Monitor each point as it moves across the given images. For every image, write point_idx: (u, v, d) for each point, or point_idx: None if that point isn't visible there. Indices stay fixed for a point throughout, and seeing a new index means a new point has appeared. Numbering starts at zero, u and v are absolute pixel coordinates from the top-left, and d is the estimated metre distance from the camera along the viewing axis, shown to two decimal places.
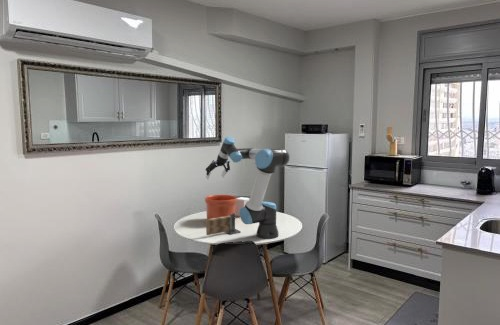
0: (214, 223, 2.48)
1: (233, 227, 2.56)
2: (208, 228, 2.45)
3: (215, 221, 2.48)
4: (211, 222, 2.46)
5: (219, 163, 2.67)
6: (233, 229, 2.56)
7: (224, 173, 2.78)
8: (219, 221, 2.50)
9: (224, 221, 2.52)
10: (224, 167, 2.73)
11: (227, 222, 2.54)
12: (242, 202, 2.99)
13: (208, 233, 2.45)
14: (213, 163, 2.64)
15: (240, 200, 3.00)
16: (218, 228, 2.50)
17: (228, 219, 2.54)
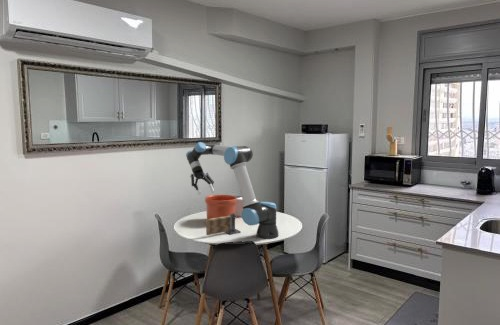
0: (214, 223, 2.48)
1: (233, 227, 2.56)
2: (208, 228, 2.45)
3: (215, 221, 2.48)
4: (211, 222, 2.46)
5: (197, 174, 2.68)
6: (233, 229, 2.56)
7: (211, 185, 2.66)
8: (219, 221, 2.50)
9: (224, 221, 2.52)
10: (206, 178, 2.69)
11: (227, 222, 2.54)
12: (242, 202, 2.99)
13: (208, 233, 2.45)
14: (191, 175, 2.65)
15: (240, 200, 3.00)
16: (218, 228, 2.50)
17: (228, 219, 2.54)
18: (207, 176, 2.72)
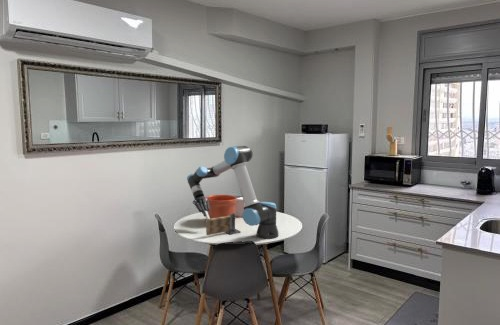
0: (214, 223, 2.48)
1: (233, 227, 2.56)
2: (208, 228, 2.45)
3: (215, 221, 2.48)
4: (211, 222, 2.46)
5: (198, 199, 2.65)
6: (233, 229, 2.56)
7: (206, 213, 2.59)
8: (219, 221, 2.50)
9: (224, 221, 2.52)
10: (204, 204, 2.64)
11: (227, 222, 2.54)
12: (242, 202, 2.99)
13: (208, 233, 2.45)
14: (194, 202, 2.62)
15: (240, 200, 3.00)
16: (218, 228, 2.50)
17: (228, 219, 2.54)
18: (206, 202, 2.67)
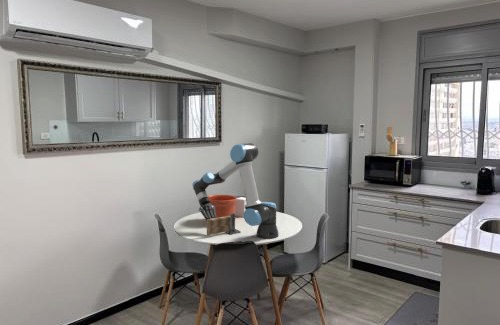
0: (214, 223, 2.47)
1: (233, 227, 2.56)
2: (208, 228, 2.44)
3: (215, 221, 2.48)
4: (211, 222, 2.46)
5: (204, 206, 2.57)
6: (233, 229, 2.56)
7: None
8: (219, 221, 2.49)
9: (224, 221, 2.52)
10: (210, 211, 2.56)
11: (227, 222, 2.53)
12: (242, 202, 2.99)
13: (208, 233, 2.45)
14: (200, 209, 2.54)
15: (240, 200, 3.00)
16: (218, 229, 2.50)
17: (228, 219, 2.54)
18: (213, 209, 2.60)
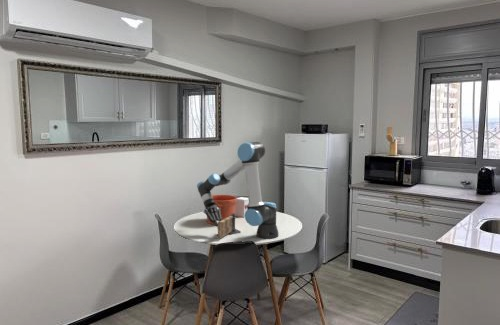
0: (223, 225, 2.43)
1: (233, 227, 2.56)
2: (220, 231, 2.38)
3: (224, 223, 2.43)
4: (222, 224, 2.40)
5: (209, 208, 2.51)
6: (233, 229, 2.56)
7: None
8: (226, 222, 2.46)
9: (228, 222, 2.50)
10: (215, 213, 2.50)
11: (230, 223, 2.52)
12: (242, 202, 2.99)
13: (220, 236, 2.39)
14: (205, 211, 2.48)
15: (240, 200, 3.00)
16: (225, 230, 2.46)
17: (231, 219, 2.53)
18: (218, 211, 2.53)
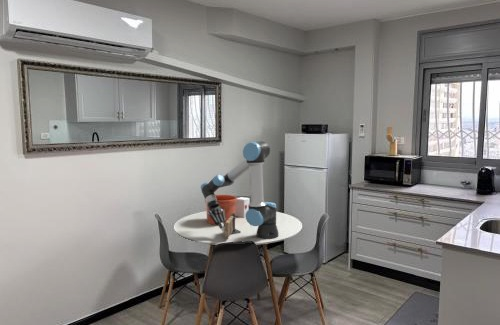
0: (229, 225, 2.42)
1: (233, 227, 2.56)
2: (228, 231, 2.37)
3: (229, 223, 2.42)
4: (228, 225, 2.39)
5: (213, 209, 2.47)
6: (233, 229, 2.56)
7: (222, 225, 2.42)
8: (230, 223, 2.46)
9: (231, 222, 2.49)
10: (219, 215, 2.46)
11: (232, 223, 2.52)
12: (242, 202, 2.99)
13: None
14: (209, 213, 2.44)
15: (240, 200, 3.00)
16: (230, 230, 2.45)
17: (232, 219, 2.53)
18: (222, 213, 2.50)
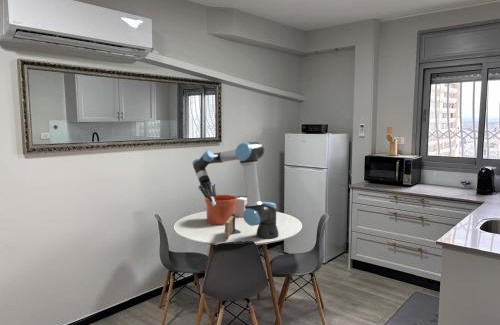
0: (229, 225, 2.42)
1: (233, 227, 2.56)
2: (228, 231, 2.37)
3: (229, 223, 2.42)
4: (228, 225, 2.39)
5: (204, 184, 2.58)
6: (233, 229, 2.56)
7: (212, 198, 2.53)
8: (230, 223, 2.46)
9: (231, 222, 2.49)
10: (210, 189, 2.57)
11: (232, 223, 2.52)
12: (242, 202, 2.99)
13: None
14: (200, 187, 2.55)
15: (240, 200, 3.00)
16: (230, 230, 2.45)
17: (232, 219, 2.53)
18: (213, 187, 2.60)
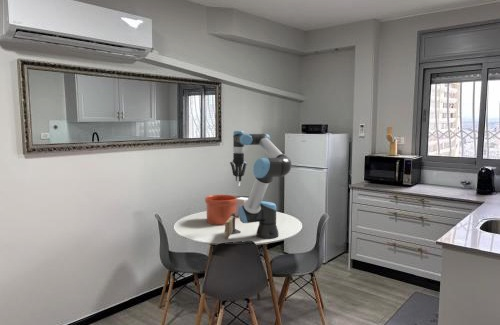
0: (229, 225, 2.42)
1: (233, 227, 2.56)
2: (228, 231, 2.37)
3: (229, 223, 2.42)
4: (228, 225, 2.39)
5: None
6: (233, 229, 2.56)
7: (237, 179, 2.59)
8: (230, 223, 2.46)
9: (231, 222, 2.49)
10: None
11: (232, 223, 2.52)
12: (242, 202, 2.99)
13: None
14: None
15: (240, 200, 3.00)
16: (230, 230, 2.45)
17: (232, 219, 2.53)
18: (243, 166, 2.57)
